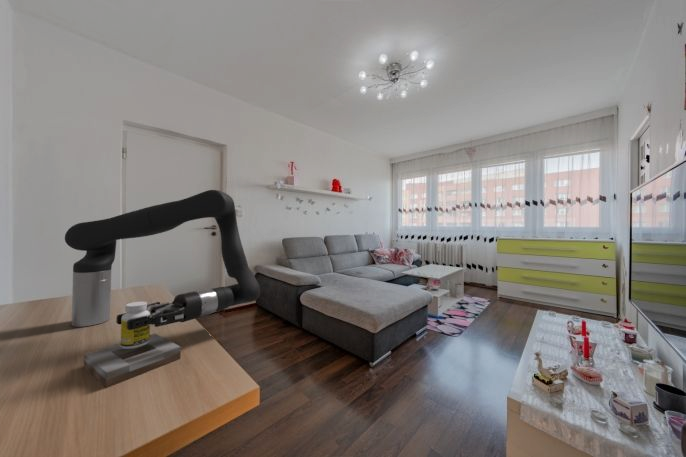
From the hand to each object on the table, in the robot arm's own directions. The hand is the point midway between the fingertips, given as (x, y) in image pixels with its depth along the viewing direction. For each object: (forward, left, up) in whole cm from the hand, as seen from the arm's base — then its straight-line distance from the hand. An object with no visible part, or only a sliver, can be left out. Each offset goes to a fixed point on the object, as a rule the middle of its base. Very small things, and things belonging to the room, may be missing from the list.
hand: (122, 322), depth 59 cm
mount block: (0, +2, -10) cm, 11 cm away
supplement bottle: (0, +3, -6) cm, 7 cm away
